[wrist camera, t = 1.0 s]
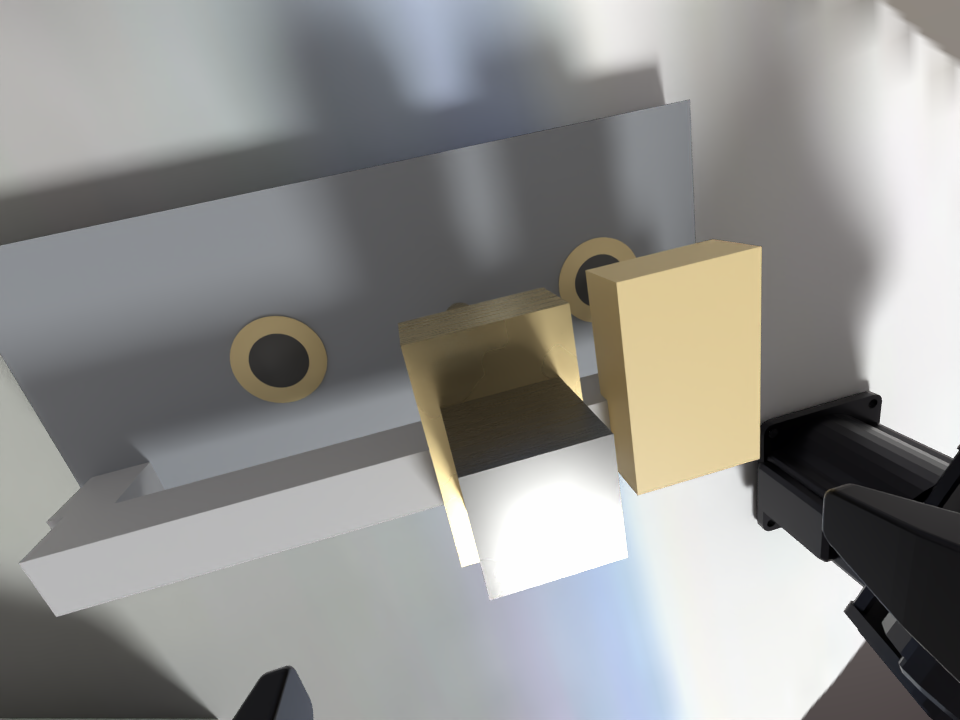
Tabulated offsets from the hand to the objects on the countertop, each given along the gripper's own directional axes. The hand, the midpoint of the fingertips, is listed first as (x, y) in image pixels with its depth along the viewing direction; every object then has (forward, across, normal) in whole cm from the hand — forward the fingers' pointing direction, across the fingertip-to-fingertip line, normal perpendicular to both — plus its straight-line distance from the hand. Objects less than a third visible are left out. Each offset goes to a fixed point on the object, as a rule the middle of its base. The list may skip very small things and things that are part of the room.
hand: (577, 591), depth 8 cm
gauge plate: (+13, +2, -1) cm, 13 cm away
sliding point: (+11, 0, 0) cm, 11 cm away
